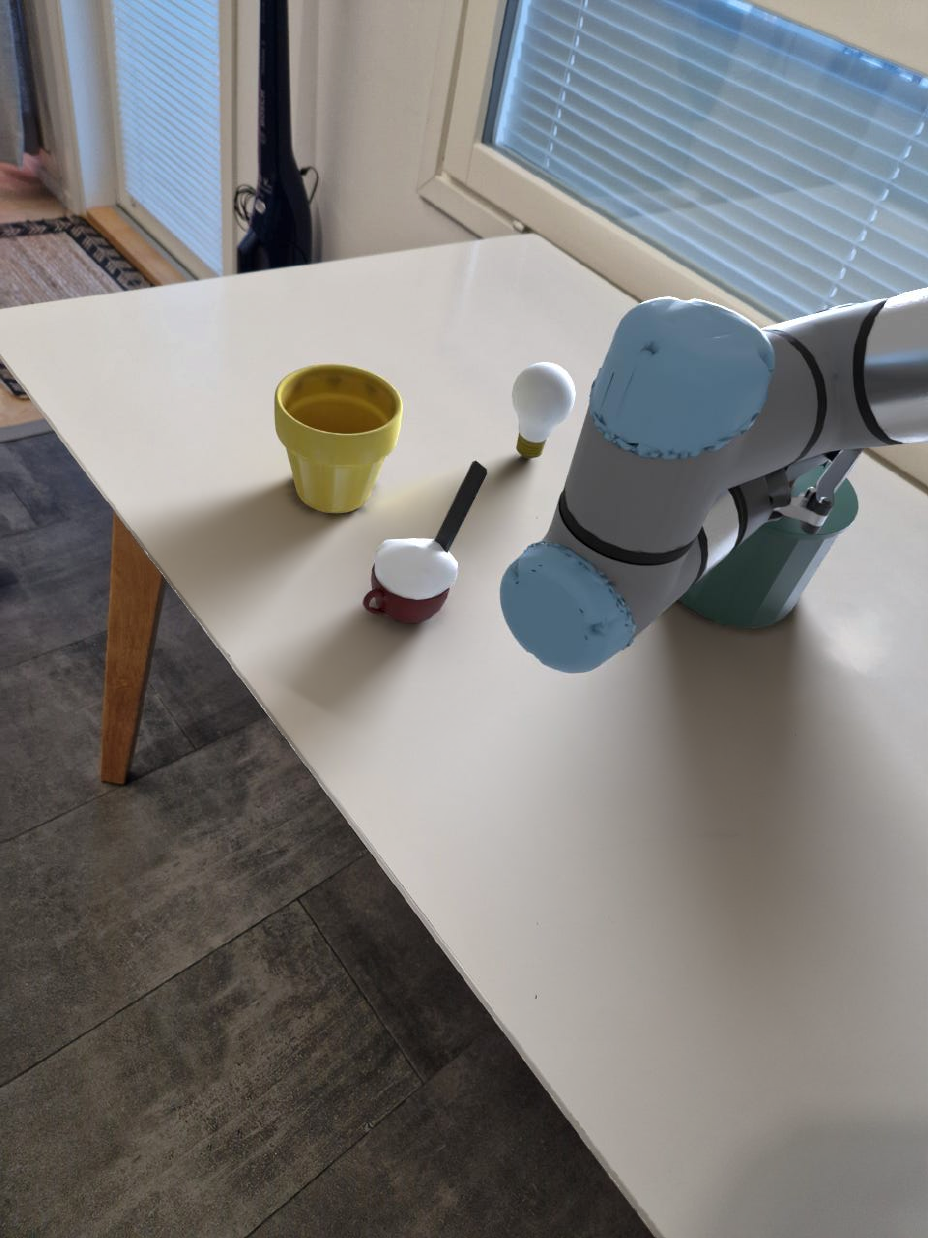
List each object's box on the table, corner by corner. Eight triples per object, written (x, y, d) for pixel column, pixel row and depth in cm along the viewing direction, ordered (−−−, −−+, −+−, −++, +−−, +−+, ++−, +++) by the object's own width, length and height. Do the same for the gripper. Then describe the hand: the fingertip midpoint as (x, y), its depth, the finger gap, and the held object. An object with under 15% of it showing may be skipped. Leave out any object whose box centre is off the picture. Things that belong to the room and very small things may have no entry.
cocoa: (364, 642, 66) (379, 522, 57) (345, 584, 70) (356, 464, 61) (480, 625, 69) (510, 510, 60) (456, 571, 73) (481, 455, 64)
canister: (820, 595, 78) (878, 506, 71) (734, 648, 72) (788, 556, 64) (716, 514, 84) (760, 424, 77) (628, 556, 78) (667, 462, 70)
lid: (883, 513, 71) (949, 413, 64) (786, 568, 64) (849, 463, 57) (756, 425, 78) (804, 325, 71) (656, 466, 71) (698, 360, 64)
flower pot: (348, 546, 73) (356, 451, 66) (249, 494, 75) (247, 398, 68) (412, 487, 80) (426, 395, 73) (320, 441, 82) (325, 348, 75)
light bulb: (560, 448, 88) (586, 360, 81) (551, 481, 84) (577, 391, 77) (504, 432, 88) (525, 343, 81) (492, 465, 84) (513, 374, 77)
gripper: (577, 493, 61) (735, 389, 75) (770, 621, 55) (903, 482, 69) (607, 402, 56) (771, 308, 70) (824, 533, 50) (957, 402, 64)
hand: (837, 395), depth 69 cm, fingers closed on lid, 3 cm apart
